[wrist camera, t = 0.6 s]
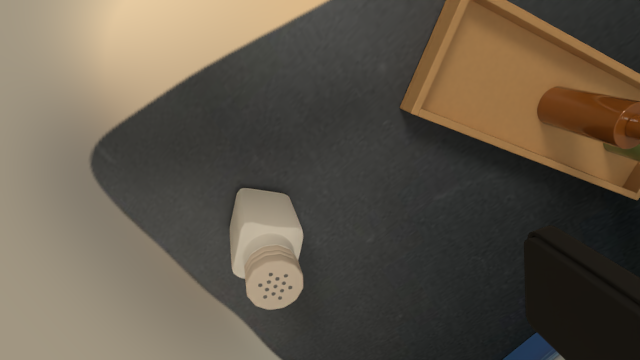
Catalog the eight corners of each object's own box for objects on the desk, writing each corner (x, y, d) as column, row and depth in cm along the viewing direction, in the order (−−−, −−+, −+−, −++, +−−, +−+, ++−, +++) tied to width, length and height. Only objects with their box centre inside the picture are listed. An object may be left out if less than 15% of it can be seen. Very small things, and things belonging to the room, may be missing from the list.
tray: (399, 107, 30) (410, 113, 28) (453, -18, 28) (470, -21, 26) (617, 192, 39) (637, 200, 37) (674, 101, 36) (698, 106, 34)
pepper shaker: (290, 191, 30) (319, 258, 22) (278, 237, 32) (301, 318, 23) (237, 183, 29) (246, 250, 21) (227, 231, 30) (231, 314, 22)
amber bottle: (529, 118, 33) (660, 158, 23) (549, 80, 32) (693, 105, 22) (557, 130, 34) (693, 173, 24) (577, 93, 33) (726, 123, 23)
